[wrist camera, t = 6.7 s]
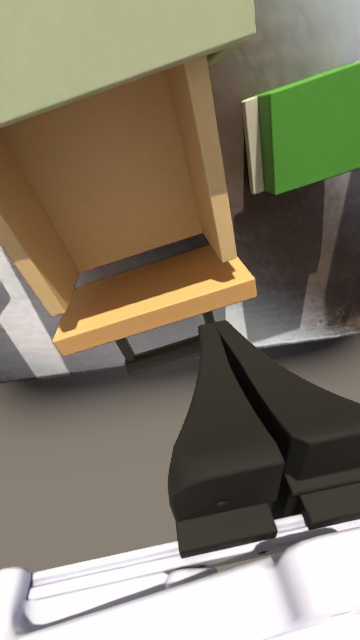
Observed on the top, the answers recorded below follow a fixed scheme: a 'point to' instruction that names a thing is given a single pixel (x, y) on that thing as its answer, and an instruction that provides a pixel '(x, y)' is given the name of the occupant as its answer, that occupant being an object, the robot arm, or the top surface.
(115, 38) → the cabinet
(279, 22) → the top surface
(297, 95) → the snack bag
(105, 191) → the drawer
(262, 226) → the top surface
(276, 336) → the top surface
